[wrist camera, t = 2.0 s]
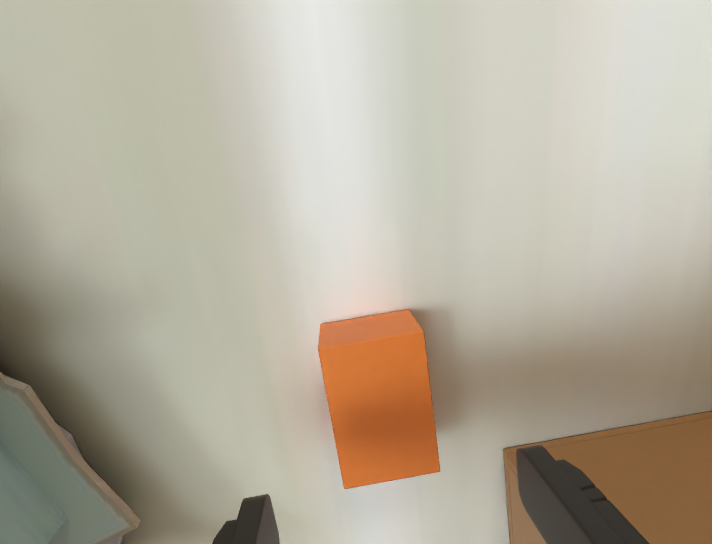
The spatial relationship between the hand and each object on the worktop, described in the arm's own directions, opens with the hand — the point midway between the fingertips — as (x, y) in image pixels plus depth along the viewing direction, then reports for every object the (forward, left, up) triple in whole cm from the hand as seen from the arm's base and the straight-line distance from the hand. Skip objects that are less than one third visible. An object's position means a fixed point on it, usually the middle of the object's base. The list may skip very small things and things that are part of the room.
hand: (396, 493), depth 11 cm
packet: (0, 0, -7) cm, 7 cm away
